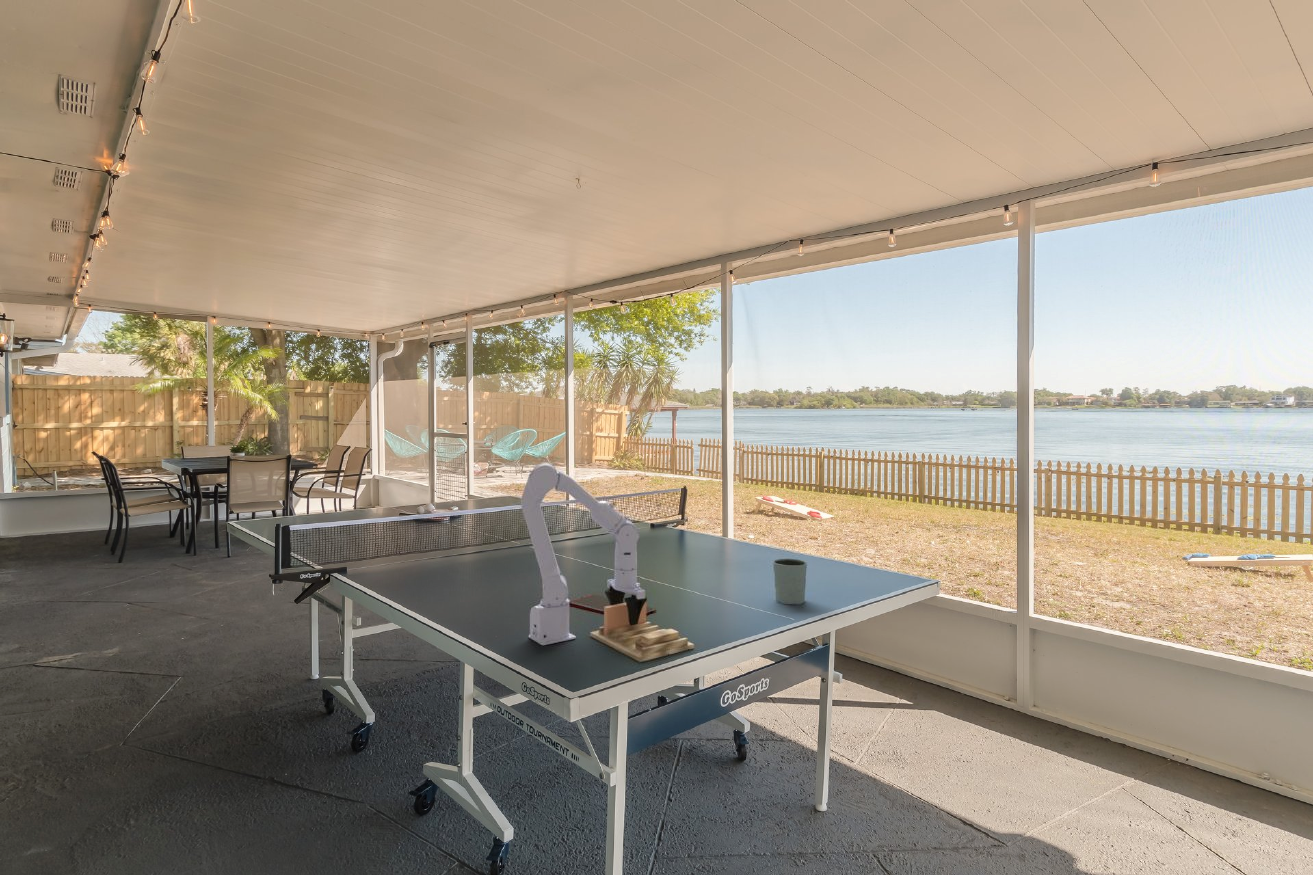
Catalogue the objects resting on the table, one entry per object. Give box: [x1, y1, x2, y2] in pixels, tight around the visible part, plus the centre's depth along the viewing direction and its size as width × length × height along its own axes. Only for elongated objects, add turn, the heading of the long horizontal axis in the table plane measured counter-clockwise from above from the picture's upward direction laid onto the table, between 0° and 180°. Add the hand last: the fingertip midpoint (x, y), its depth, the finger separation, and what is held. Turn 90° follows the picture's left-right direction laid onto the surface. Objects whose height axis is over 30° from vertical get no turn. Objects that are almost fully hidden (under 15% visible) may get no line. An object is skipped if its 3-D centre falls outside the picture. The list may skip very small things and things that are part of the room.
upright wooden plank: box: [603, 601, 647, 635], centre depth 175 cm, size 12×2×7 cm, turn 126°
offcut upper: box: [641, 628, 680, 645], centre depth 164 cm, size 9×3×2 cm, turn 126°
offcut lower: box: [635, 636, 682, 651], centre depth 164 cm, size 11×4×2 cm, turn 126°
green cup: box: [772, 558, 808, 605], centre depth 208 cm, size 10×10×12 cm
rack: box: [589, 621, 695, 663], centre depth 170 cm, size 16×22×2 cm
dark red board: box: [569, 593, 657, 616], centre depth 199 cm, size 12×2×25 cm
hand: (625, 620), depth 175 cm, fingers open, 7 cm apart
